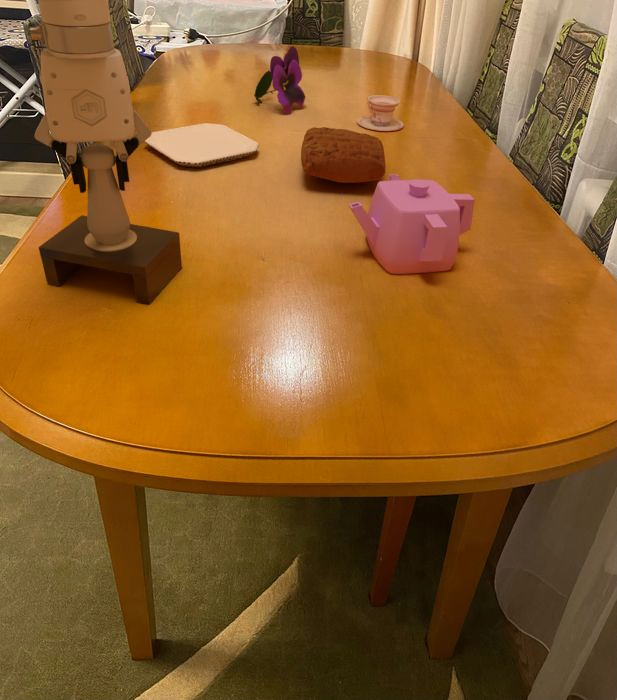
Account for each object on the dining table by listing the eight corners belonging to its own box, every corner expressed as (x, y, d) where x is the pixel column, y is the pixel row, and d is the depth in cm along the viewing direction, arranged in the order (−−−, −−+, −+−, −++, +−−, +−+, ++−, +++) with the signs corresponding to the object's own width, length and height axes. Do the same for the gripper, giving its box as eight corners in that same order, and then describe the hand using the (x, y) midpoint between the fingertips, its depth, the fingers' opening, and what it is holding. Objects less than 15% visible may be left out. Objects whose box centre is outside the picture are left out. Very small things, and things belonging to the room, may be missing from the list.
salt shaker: (140, 234, 88) (128, 144, 80) (117, 251, 83) (103, 158, 76) (105, 226, 89) (90, 137, 81) (81, 242, 85) (63, 150, 77)
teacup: (412, 125, 156) (416, 100, 153) (385, 135, 149) (388, 109, 145) (375, 114, 162) (378, 90, 159) (347, 123, 155) (349, 98, 151)
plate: (184, 175, 122) (183, 164, 121) (137, 144, 134) (136, 134, 133) (267, 156, 133) (267, 146, 131) (217, 130, 145) (216, 120, 144)
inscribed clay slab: (382, 200, 118) (388, 160, 113) (295, 193, 118) (297, 152, 113) (381, 160, 135) (386, 123, 130) (305, 153, 136) (307, 117, 131)
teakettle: (434, 290, 92) (451, 215, 84) (337, 257, 98) (345, 184, 91) (472, 248, 104) (490, 179, 96) (384, 221, 110) (393, 154, 103)
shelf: (47, 284, 87) (37, 245, 83) (88, 250, 96) (81, 213, 92) (149, 305, 84) (144, 266, 81) (182, 267, 93) (179, 231, 89)
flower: (250, 129, 162) (288, 114, 154) (227, 72, 157) (266, 53, 148) (279, 117, 172) (317, 102, 164) (259, 62, 167) (297, 44, 159)
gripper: (-4, 45, 66) (33, 203, 77) (155, 45, 70) (168, 195, 81) (4, 31, 71) (38, 180, 83) (151, 32, 76) (164, 174, 87)
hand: (102, 186), depth 82 cm, fingers open, 4 cm apart
